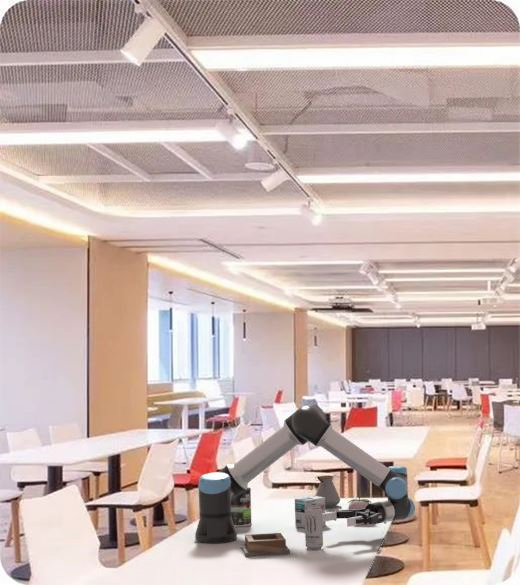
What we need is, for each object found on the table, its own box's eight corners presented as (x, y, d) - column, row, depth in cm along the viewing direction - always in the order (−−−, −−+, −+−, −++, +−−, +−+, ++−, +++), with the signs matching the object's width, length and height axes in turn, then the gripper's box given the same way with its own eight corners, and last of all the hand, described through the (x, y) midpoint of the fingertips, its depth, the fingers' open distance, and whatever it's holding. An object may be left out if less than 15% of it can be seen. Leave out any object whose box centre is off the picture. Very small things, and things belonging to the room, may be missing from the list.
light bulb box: (306, 528, 378) (305, 500, 378) (294, 526, 383) (293, 498, 383) (326, 524, 385) (325, 496, 385) (314, 522, 390) (313, 495, 390)
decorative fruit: (372, 520, 392) (371, 494, 392) (372, 524, 384) (371, 497, 384) (348, 520, 393) (347, 495, 393) (348, 524, 384) (347, 498, 385)
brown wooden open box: (241, 547, 345) (240, 534, 345) (283, 545, 347) (283, 532, 347) (245, 556, 330) (245, 542, 330) (290, 554, 332) (289, 540, 332)
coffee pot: (317, 504, 436) (316, 469, 436) (343, 504, 432) (342, 469, 433) (305, 512, 415) (303, 476, 416) (331, 512, 412) (330, 476, 413)
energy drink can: (303, 549, 339) (302, 505, 339) (308, 546, 344) (307, 502, 345) (320, 550, 336) (319, 506, 337) (325, 547, 342) (323, 503, 343)
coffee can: (257, 523, 391) (256, 487, 392) (240, 528, 383) (239, 491, 384) (236, 521, 398) (235, 486, 398) (220, 525, 389) (219, 489, 390)
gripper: (404, 527, 349) (359, 535, 336) (356, 518, 369) (312, 526, 356) (403, 505, 349) (358, 513, 337) (355, 498, 369) (311, 505, 357)
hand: (334, 520), depth 346 cm, fingers open, 13 cm apart
